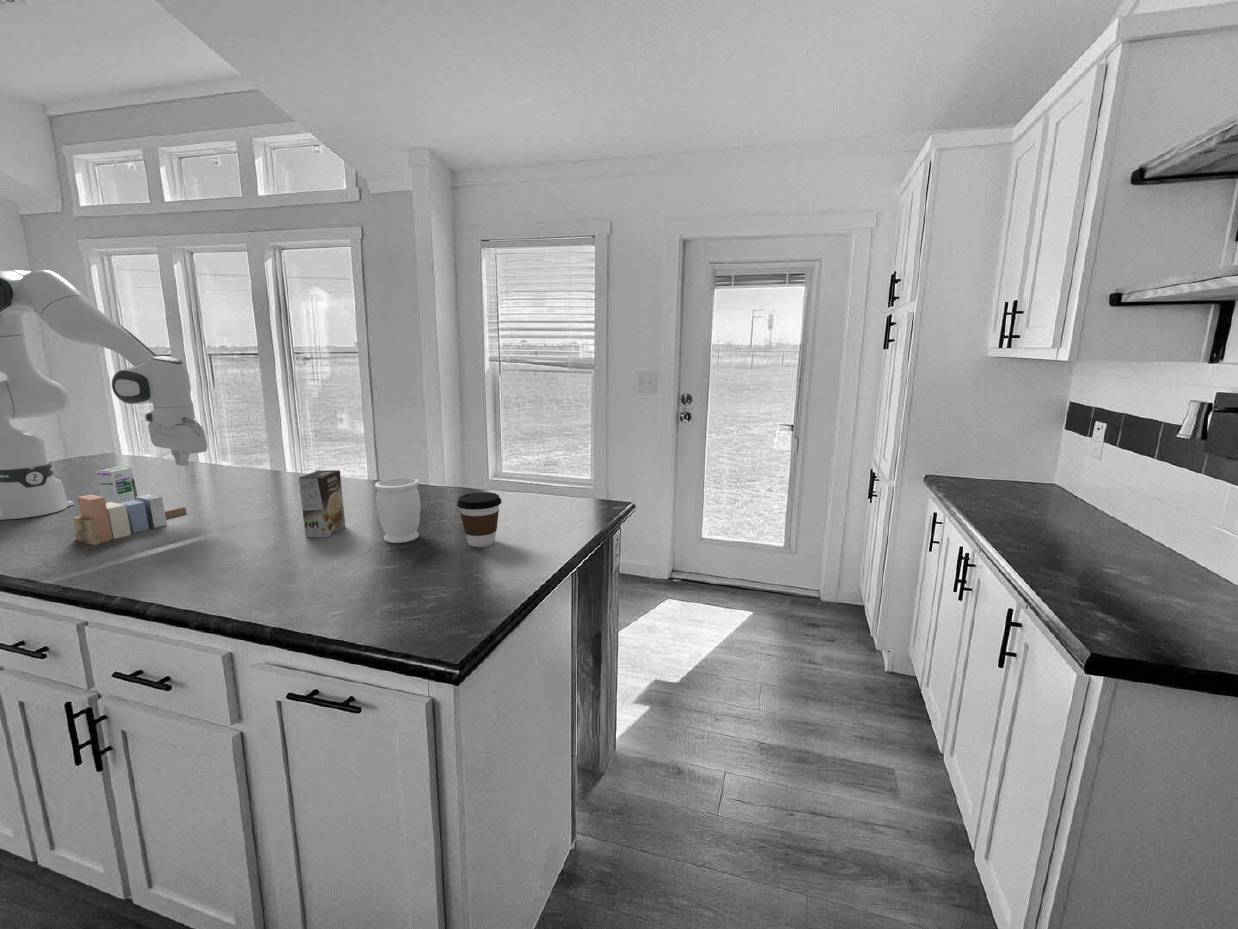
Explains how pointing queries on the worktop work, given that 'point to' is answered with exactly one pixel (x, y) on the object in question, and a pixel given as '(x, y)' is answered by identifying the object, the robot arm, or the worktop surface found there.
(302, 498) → the coffee box
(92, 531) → the rack
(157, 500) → the bookend
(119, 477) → the syrup box
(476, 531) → the coffee cup
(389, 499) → the jar
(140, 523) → the pale blue cuboid
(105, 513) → the book
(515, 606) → the worktop surface
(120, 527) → the book
